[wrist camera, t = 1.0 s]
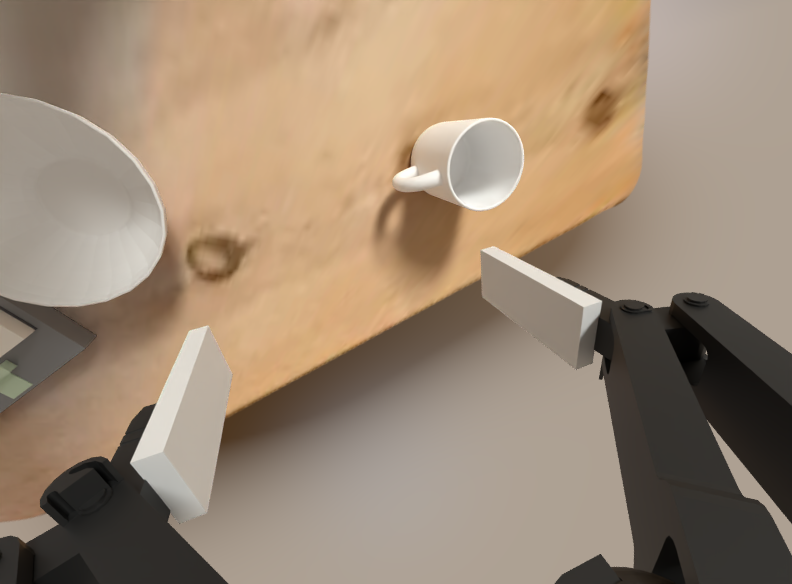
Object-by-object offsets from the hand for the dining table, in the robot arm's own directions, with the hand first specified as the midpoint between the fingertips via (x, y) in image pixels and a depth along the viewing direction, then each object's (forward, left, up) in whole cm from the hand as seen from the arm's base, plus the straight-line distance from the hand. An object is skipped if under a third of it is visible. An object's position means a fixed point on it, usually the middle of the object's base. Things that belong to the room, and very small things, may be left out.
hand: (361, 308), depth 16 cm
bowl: (-13, -16, -26) cm, 33 cm away
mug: (+4, +14, -26) cm, 30 cm away
